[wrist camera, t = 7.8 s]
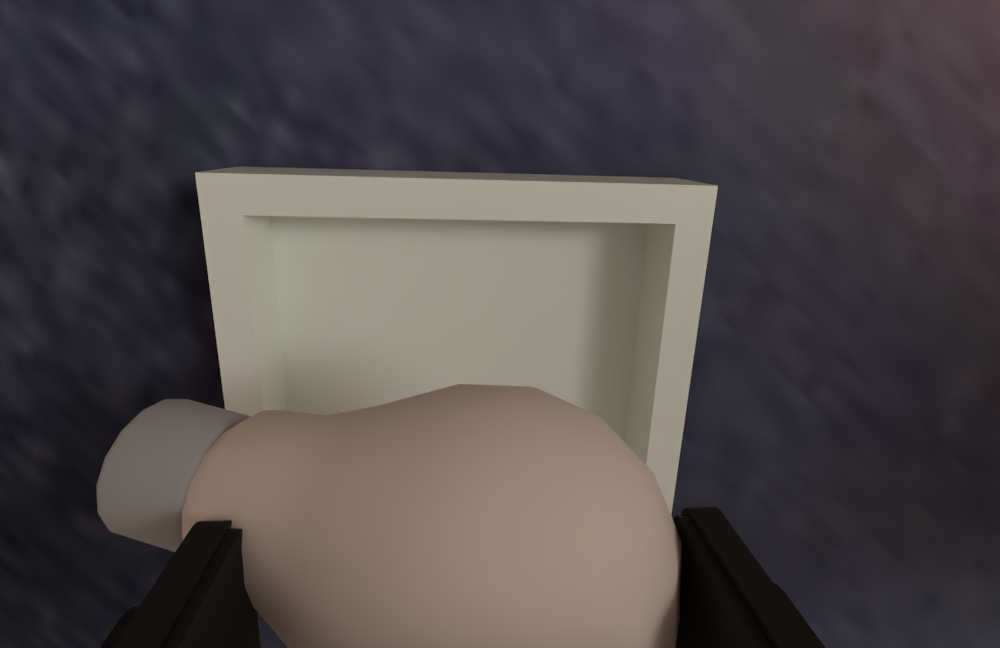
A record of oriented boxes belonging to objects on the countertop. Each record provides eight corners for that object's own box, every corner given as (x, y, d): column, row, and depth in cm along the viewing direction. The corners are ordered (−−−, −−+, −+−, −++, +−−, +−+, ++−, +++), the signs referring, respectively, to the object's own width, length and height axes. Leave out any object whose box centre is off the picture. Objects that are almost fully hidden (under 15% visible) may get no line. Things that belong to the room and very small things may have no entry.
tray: (675, 177, 18) (717, 186, 15) (633, 532, 22) (660, 592, 19) (238, 166, 17) (194, 172, 14) (277, 542, 21) (250, 607, 18)
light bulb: (-85, 727, 9) (652, 1024, 7) (-37, 298, 8) (790, 508, 6) (209, 539, 15) (628, 668, 13) (249, 292, 15) (695, 395, 13)
